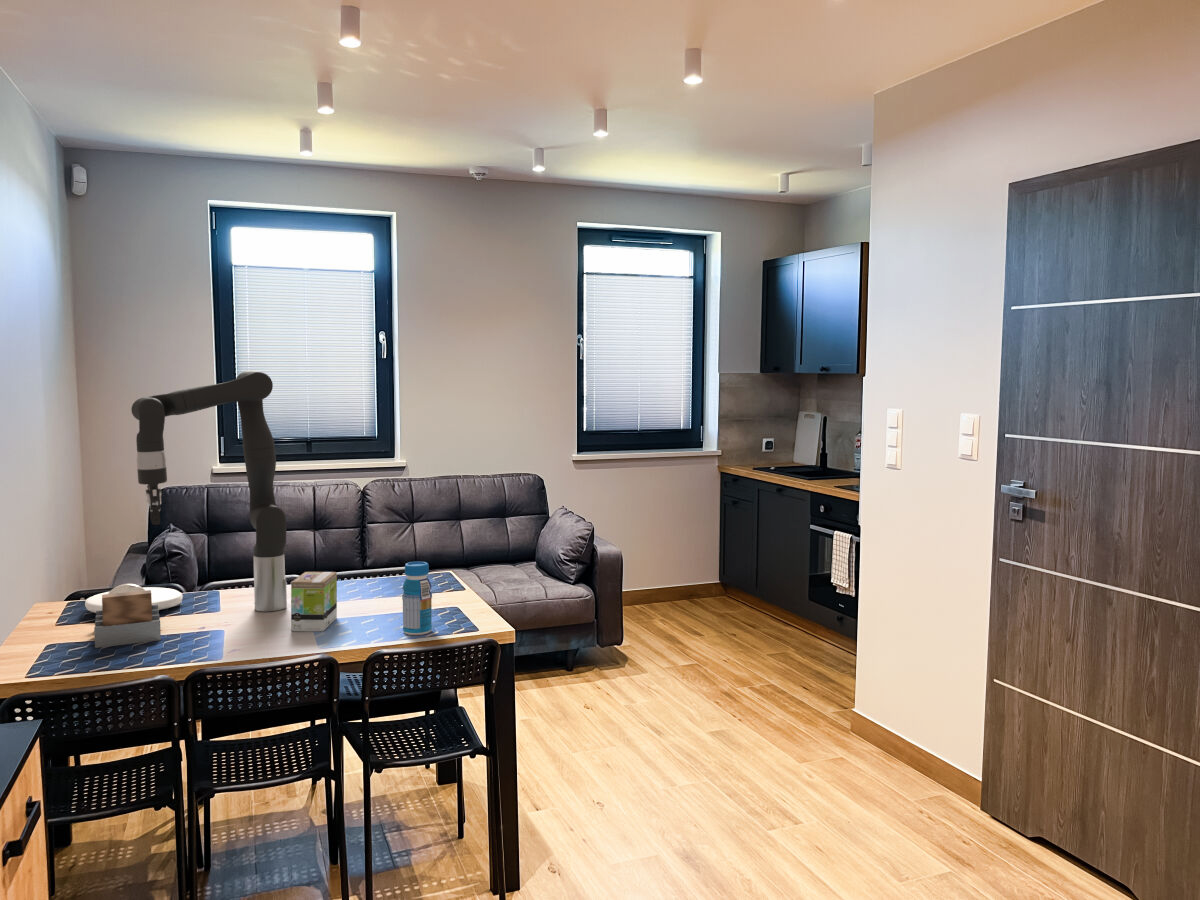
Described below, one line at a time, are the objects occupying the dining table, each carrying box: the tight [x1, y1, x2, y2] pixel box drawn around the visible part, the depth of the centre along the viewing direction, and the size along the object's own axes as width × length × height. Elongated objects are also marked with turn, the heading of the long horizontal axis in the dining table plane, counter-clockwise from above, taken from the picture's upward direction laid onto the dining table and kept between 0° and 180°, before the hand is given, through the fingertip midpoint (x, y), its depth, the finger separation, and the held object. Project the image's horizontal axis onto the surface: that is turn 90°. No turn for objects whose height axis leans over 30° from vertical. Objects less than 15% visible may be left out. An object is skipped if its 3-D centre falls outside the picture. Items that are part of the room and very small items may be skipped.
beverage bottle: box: [401, 561, 433, 636], centre depth 258 cm, size 8×8×20 cm
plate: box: [84, 586, 184, 614], centre depth 283 cm, size 28×6×27 cm
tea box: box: [290, 571, 338, 632], centre depth 265 cm, size 15×10×15 cm, turn 3°
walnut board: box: [102, 590, 152, 626], centre depth 248 cm, size 12×4×12 cm, turn 118°
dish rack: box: [93, 583, 162, 649], centre depth 254 cm, size 16×20×13 cm
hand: (155, 522), depth 260 cm, fingers open, 8 cm apart
